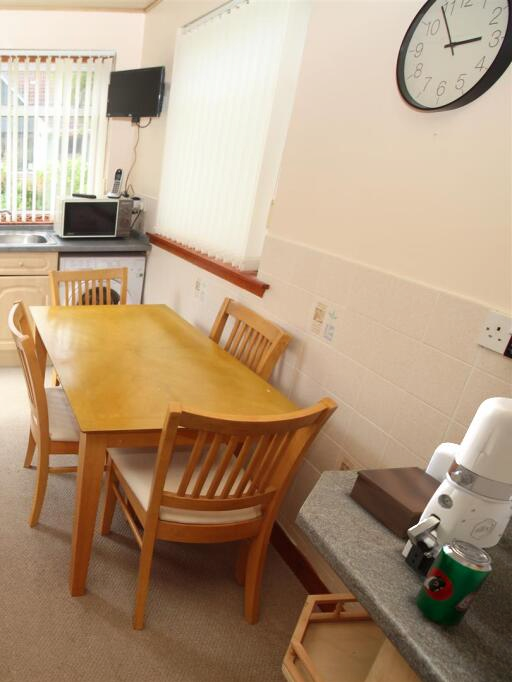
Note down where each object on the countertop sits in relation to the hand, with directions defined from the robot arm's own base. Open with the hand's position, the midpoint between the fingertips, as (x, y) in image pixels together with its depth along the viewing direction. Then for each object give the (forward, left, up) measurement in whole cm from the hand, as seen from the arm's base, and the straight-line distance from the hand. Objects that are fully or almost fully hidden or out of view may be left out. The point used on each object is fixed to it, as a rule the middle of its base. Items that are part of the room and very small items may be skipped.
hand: (436, 566), depth 77 cm
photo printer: (-18, -13, -1) cm, 22 cm away
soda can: (+8, +7, -1) cm, 11 cm away
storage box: (-7, -12, -1) cm, 14 cm away
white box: (0, 0, -1) cm, 1 cm away
